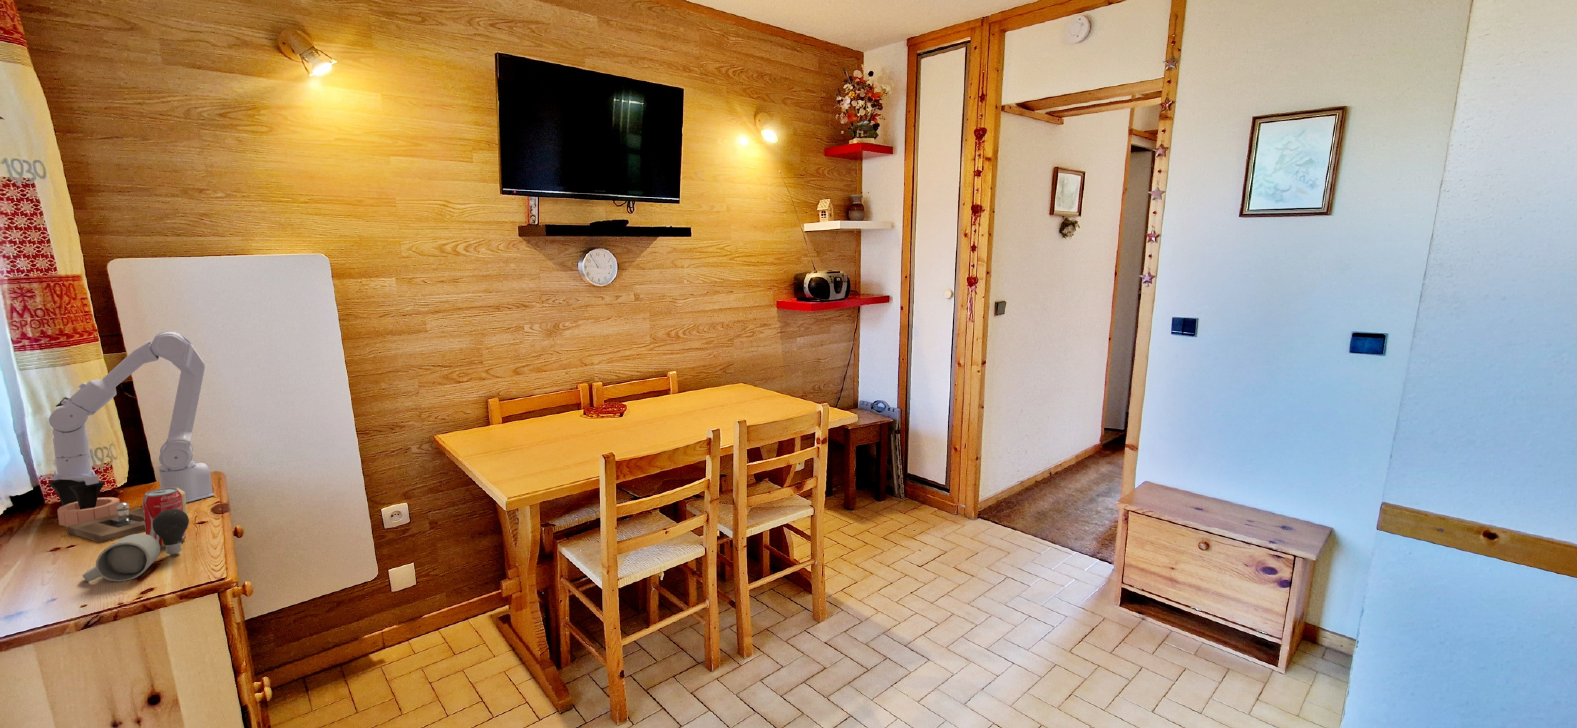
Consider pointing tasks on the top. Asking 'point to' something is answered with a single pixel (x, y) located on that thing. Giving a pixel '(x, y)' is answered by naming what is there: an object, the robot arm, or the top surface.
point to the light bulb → (171, 529)
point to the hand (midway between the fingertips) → (79, 509)
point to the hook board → (108, 527)
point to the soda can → (160, 508)
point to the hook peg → (122, 516)
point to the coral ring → (87, 511)
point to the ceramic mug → (125, 558)
